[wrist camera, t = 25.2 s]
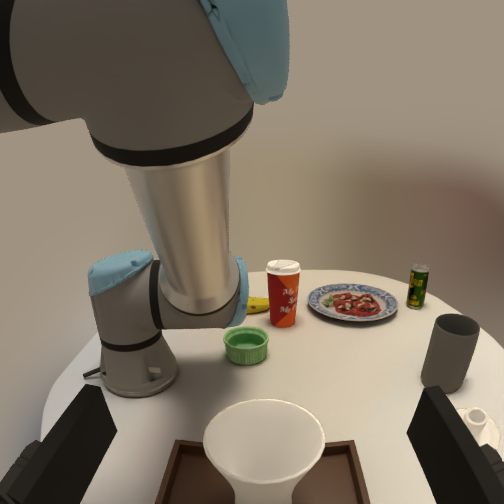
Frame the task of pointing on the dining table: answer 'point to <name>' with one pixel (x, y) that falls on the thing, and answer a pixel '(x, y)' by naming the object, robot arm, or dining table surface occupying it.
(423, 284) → the green soda can
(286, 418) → the cup
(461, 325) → the mug
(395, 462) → the dining table surface
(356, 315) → the ceramic plate
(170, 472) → the tray
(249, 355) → the ramekin
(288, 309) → the coffee cup
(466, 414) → the candle holder
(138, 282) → the robot arm
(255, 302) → the banana
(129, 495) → the dining table surface
